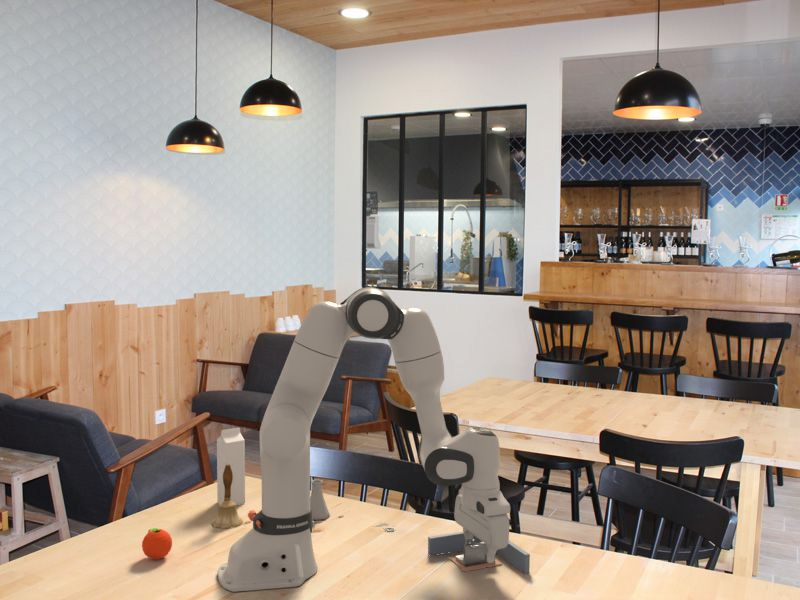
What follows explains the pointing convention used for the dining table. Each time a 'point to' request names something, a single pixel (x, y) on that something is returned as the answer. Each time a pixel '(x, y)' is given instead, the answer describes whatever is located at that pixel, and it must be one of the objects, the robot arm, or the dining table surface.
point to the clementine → (157, 543)
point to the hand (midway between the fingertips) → (479, 554)
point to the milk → (231, 464)
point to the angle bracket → (473, 554)
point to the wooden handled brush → (227, 505)
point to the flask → (318, 501)
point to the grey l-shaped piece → (457, 542)
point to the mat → (475, 565)
